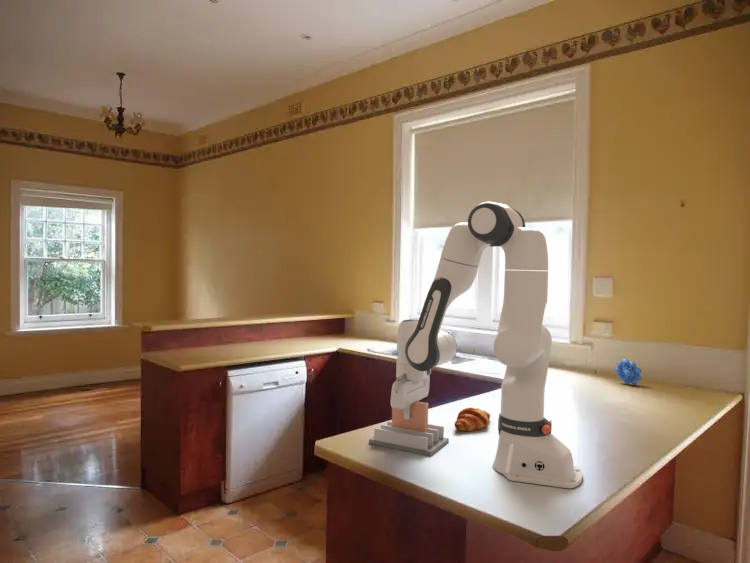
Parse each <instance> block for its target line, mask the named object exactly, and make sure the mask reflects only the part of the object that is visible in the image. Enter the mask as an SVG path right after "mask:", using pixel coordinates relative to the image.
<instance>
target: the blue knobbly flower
mask: <svg viewBox="0 0 750 563" xmlns="http://www.w3.org/2000/svg"><path fill="white" fill-rule="evenodd" d="M616 365H617V366H615V368H614V371H615V373H617V379H619V380H621V381H623V382H624V383H625V385H630V384H632V385H634V386H635V385H636V386H637V384H638V382H639V381H642V375H641V373H642V369H640V368H641V367H637V363H636V362H635V361H632V360H631V361H629V359H626V358H624V359H623V360H622V361H620V360H618V361H617V362H616Z"/></svg>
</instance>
